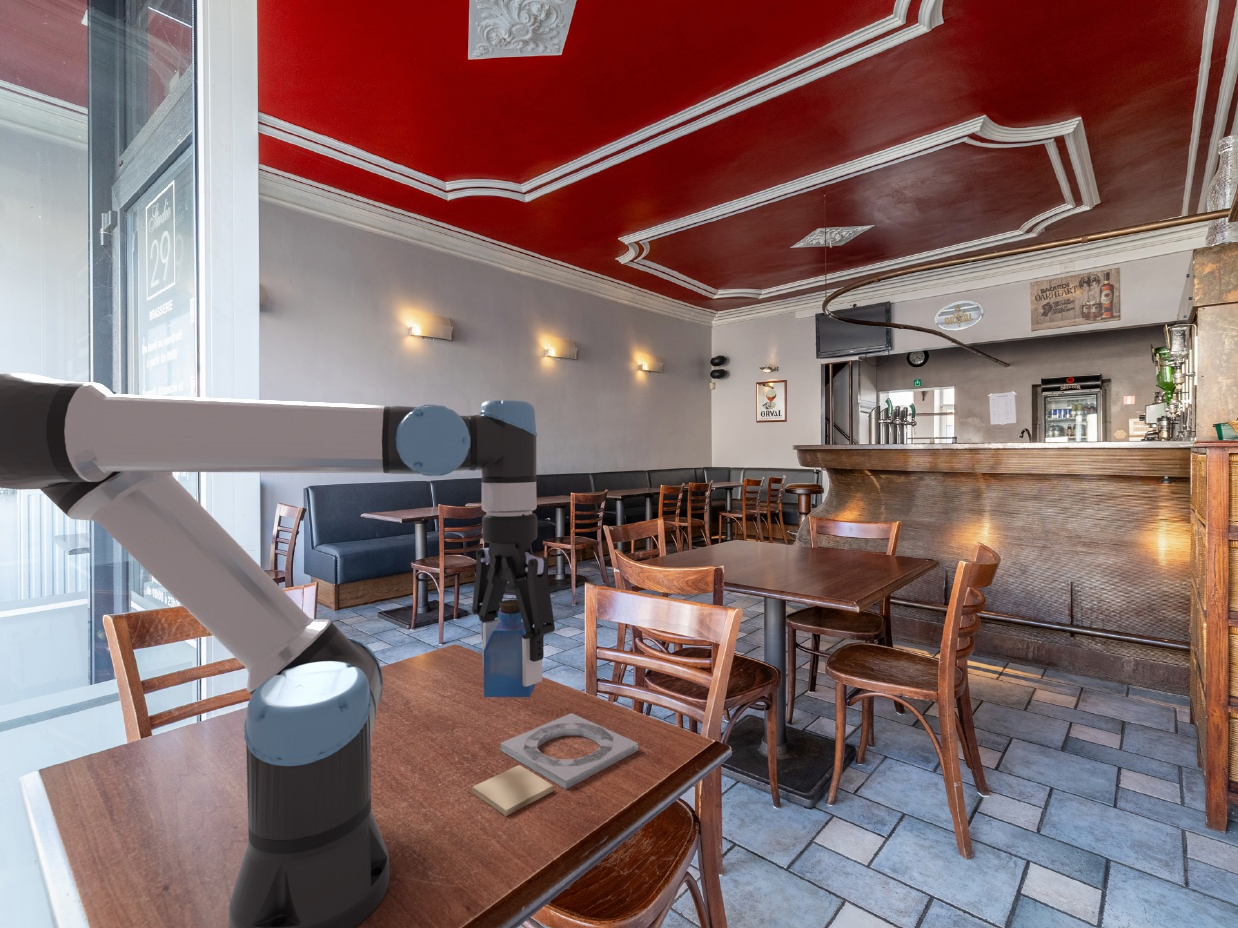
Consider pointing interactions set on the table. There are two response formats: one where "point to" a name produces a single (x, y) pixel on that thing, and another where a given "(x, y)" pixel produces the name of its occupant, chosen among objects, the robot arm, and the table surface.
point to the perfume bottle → (505, 655)
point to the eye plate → (569, 769)
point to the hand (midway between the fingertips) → (511, 674)
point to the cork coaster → (512, 789)
